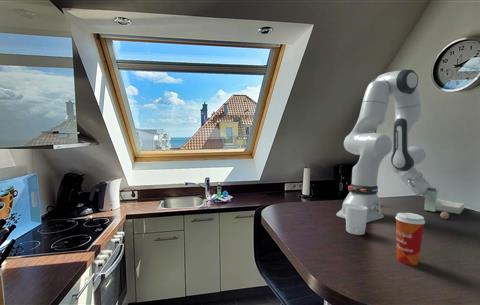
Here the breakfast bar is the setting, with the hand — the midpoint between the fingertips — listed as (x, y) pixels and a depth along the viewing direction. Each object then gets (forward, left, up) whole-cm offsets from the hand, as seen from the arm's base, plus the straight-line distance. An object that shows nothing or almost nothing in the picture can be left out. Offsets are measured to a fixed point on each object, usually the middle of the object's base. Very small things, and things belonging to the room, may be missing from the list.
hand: (432, 199), depth 137 cm
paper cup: (-72, -6, -6) cm, 72 cm away
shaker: (0, +1, -5) cm, 5 cm away
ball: (-10, -7, -6) cm, 13 cm away
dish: (+12, -4, -6) cm, 14 cm away
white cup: (-59, +15, -6) cm, 61 cm away
